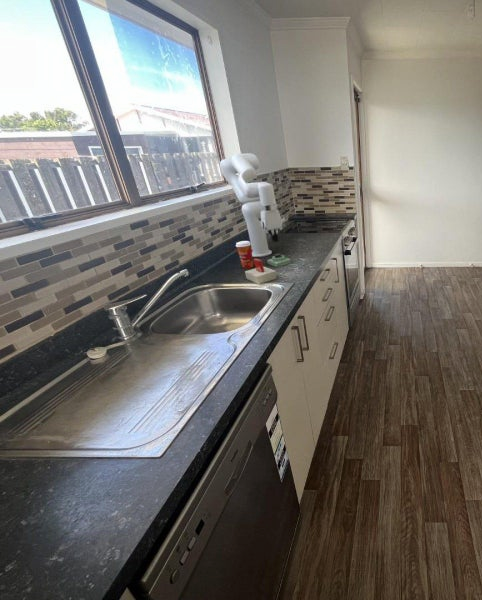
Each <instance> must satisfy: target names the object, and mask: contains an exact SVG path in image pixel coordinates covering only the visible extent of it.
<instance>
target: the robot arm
mask: <svg viewBox="0 0 482 600" xmlns="http://www.w3.org/2000/svg"><path fill="white" fill-rule="evenodd" d="M259 167H260V161H259V158H258V156H257V155H255V154H254V153H250V152H249V153H235V154H233V155H232V156H231V157H228V158H227V157H226V158H223V159H221V161H220V162H219V168H220V172H221V174H222V176H223V178H224V179H225V180H226V181H227V183H228V184H229V185H230V187H232V190H233V192H234V193H235V196H236V198H237V200H238V201H239V202H240V203H241V204H242V206H241V213H242V215H243V218H244V220H245V225H246V229H247V232H248V238H249V242H250V243H251V251H252V258H263V257H268V256H270V255H272V254H273V251H272V250H270V249H269V244H268V237H267V234H269V235H270V238H271V241H272V242H274V243H277V242H279V232H280V231H281V230H283V221H282V218H281V217H282V216H281V214H280V211H279V209H278V208H279V204H277V201H276V196H275V190H274V185H273V184H272V183H269V182H266V181H257V182H251V181H253V180H255V178H256V176H257V170H258V169H259Z"/></svg>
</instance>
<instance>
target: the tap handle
mask: <svg viewBox="0 0 482 600" xmlns="http://www.w3.org/2000/svg"><path fill="white" fill-rule="evenodd" d="M263 262H264V261H263V260H262V259H259V258H253V265H254V269H256V271H259V272H261V273H262V272H264V267H265V266H264V263H263ZM263 266H264V267H263Z"/></svg>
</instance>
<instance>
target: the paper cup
mask: <svg viewBox="0 0 482 600" xmlns="http://www.w3.org/2000/svg"><path fill="white" fill-rule="evenodd" d="M235 243H236V244H235V247H236V250H237V253H238V256H239V259H240V263H241V266H242V269H251V268H253V267H255V264H254V257H252V252H253V251H252V249H251V242H250V240H241V241H238V242H235Z"/></svg>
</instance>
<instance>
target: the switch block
mask: <svg viewBox="0 0 482 600" xmlns="http://www.w3.org/2000/svg"><path fill="white" fill-rule="evenodd" d="M281 256H282V257H280V258H275V255H274V256H272V258H270V259H267V260H266V262H267V264H268V265H271V266H273V267H276V268H278V267H282V266H285V265H289V264H291V263H292V260H291V259H290V258H287V257H285V255H283V254H281Z"/></svg>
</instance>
